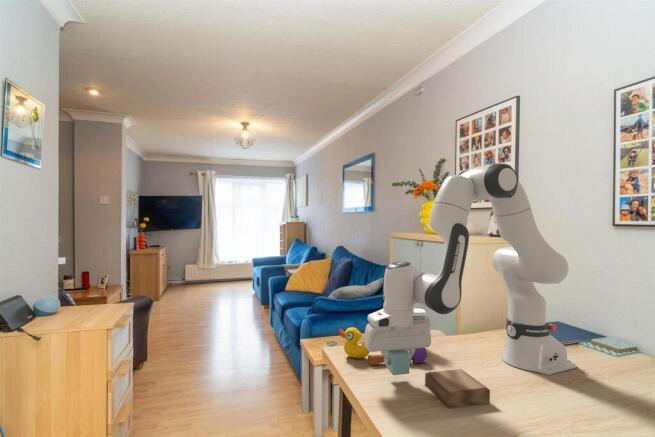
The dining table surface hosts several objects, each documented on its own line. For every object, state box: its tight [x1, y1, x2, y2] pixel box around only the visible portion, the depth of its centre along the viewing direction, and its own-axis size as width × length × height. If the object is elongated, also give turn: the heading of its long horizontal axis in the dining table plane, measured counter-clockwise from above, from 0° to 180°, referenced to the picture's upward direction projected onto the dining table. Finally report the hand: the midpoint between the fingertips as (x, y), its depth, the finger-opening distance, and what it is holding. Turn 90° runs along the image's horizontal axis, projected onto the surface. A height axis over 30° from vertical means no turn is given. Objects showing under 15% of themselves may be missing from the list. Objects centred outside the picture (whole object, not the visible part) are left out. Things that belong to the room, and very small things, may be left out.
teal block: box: [385, 349, 410, 376], centre depth 99 cm, size 5×5×6 cm
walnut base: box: [424, 368, 491, 409], centre depth 92 cm, size 12×12×4 cm
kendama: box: [367, 348, 428, 367], centre depth 112 cm, size 6×6×20 cm
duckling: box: [338, 326, 370, 359], centre depth 116 cm, size 11×5×10 cm, turn 63°
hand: (397, 363), depth 99 cm, fingers closed on teal block, 5 cm apart
